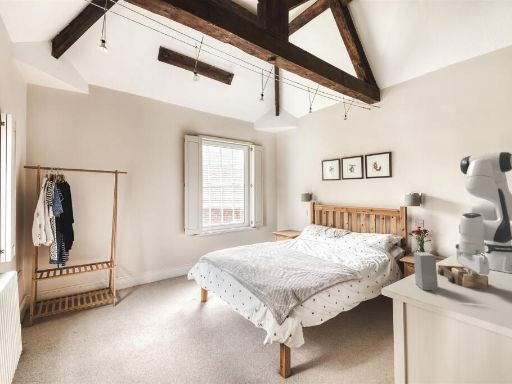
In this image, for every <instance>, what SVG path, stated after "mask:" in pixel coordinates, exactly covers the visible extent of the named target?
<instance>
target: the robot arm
mask: <svg viewBox="0 0 512 384" xmlns="http://www.w3.org/2000/svg"><path fill="white" fill-rule="evenodd" d="M459 168H460V171H461V173H462V174H463V175H465V189H466V191H467V192H468V193H469V194H470V195H472V196H474V197H476V198H478V199H482V200H480V201H474V202H473V203H471V205H470V206H469V212H468V213H467V212H466V213H463V214H461V216H460V221H459V222H460V223H459V225H458V228H459V229H458V230H459V235H460V239H459V243H456V244H455V249H456V251H455V252H456V262H457V263H458V264H460V266H463V267H466V268H467V271H468V274H471V275H477V274H479V275H487V276H488V275H490V270H491V271H498V272H502V273H507V274H512V224H511V222H512V193H511V191H510V189H509V185H508V179H507V174H506V173H508V172H510V171H512V153H511V152H509V151H502V152H490V153H489V152H488V153H483V154H481V153H480V154H476V155H468V156H465V157H463V158H462V159H461V160H460V164H459Z"/></svg>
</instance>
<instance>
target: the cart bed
mask: <svg viewBox="0 0 512 384" xmlns="http://www.w3.org/2000/svg"><path fill="white" fill-rule="evenodd" d="M437 266H438V267H437V275H440V276H444V278H446V279H447V281H448V282H449V283H451V284H455V285H456V286H461V287H462V281H463V280H461V277H459V276H458V275H456V274H454V273H453V272H452V268H465V269H467V267H465V266H463V265H460V266H459V265H444V264H438V265H437ZM477 275H480V274H478V273H477ZM488 288H489V280H488V281H487V288H486V289H488Z"/></svg>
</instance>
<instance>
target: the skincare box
mask: <svg viewBox="0 0 512 384" xmlns="http://www.w3.org/2000/svg"><path fill="white" fill-rule="evenodd" d="M436 258H437V257H436V255H435V254H432V253H430V252H427V251H426V252H424V251H423V252H422V251H421V252H418V251H417V252H416V251H415V252H413V262H414V263H413V265H414V275H415V276H414V277H415V285H416V286H418V288H420V289H421V290H423V291H433V290H434V291H438V290H439V288H438V287H439V285H438V283H439V282H438V270H437V261H436Z"/></svg>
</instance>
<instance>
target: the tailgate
mask: <svg viewBox="0 0 512 384" xmlns="http://www.w3.org/2000/svg"><path fill="white" fill-rule="evenodd" d="M487 281H488V282H489V276H488V275H482V274H479V275H471V274H463V281H462V286H461V287H464V288H475V289H476V288H477V289H488V288H487Z"/></svg>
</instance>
